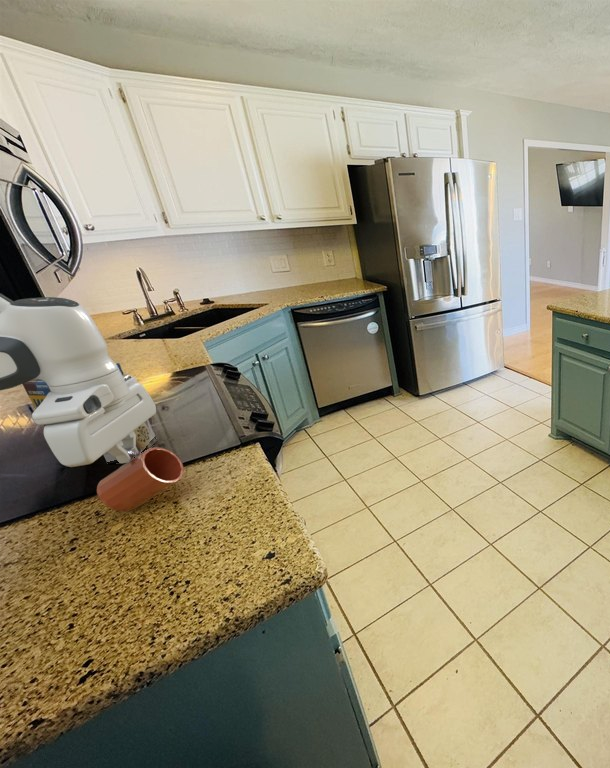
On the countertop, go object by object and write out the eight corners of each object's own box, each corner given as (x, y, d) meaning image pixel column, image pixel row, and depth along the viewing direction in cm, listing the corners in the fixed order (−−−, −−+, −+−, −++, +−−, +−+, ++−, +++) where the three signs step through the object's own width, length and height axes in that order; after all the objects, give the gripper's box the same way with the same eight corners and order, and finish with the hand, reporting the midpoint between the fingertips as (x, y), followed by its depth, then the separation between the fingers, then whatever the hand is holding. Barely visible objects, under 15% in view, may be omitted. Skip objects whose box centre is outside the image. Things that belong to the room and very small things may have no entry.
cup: (86, 492, 72) (132, 462, 72) (115, 468, 79) (157, 440, 79) (126, 519, 76) (170, 490, 76) (150, 493, 83) (190, 467, 83)
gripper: (111, 373, 79) (143, 434, 84) (21, 421, 60) (69, 495, 66) (148, 368, 80) (177, 429, 85) (70, 413, 61) (113, 487, 67)
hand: (129, 458), depth 75 cm, fingers closed, pressing on cup
